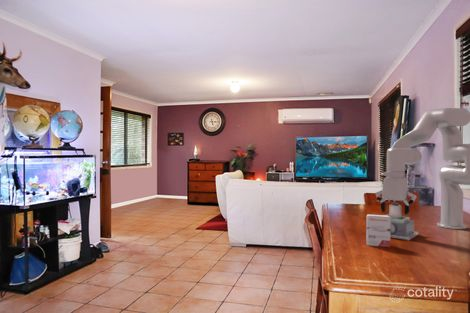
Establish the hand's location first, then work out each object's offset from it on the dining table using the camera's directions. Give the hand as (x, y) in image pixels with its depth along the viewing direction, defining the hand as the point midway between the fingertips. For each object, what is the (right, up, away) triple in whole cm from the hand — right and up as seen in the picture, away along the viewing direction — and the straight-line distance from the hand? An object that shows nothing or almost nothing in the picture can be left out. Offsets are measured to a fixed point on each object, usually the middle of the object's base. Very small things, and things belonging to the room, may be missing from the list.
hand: (394, 212), depth 151 cm
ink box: (-16, -10, -19) cm, 27 cm away
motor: (0, -10, 0) cm, 10 cm away
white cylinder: (0, -4, 0) cm, 4 cm away
